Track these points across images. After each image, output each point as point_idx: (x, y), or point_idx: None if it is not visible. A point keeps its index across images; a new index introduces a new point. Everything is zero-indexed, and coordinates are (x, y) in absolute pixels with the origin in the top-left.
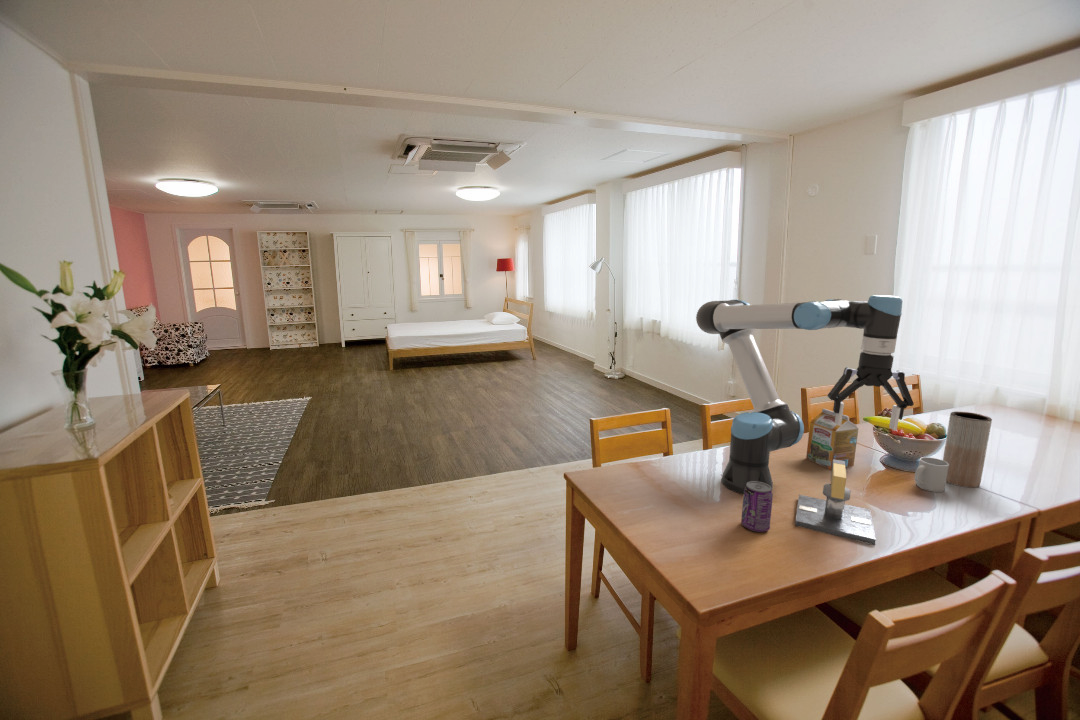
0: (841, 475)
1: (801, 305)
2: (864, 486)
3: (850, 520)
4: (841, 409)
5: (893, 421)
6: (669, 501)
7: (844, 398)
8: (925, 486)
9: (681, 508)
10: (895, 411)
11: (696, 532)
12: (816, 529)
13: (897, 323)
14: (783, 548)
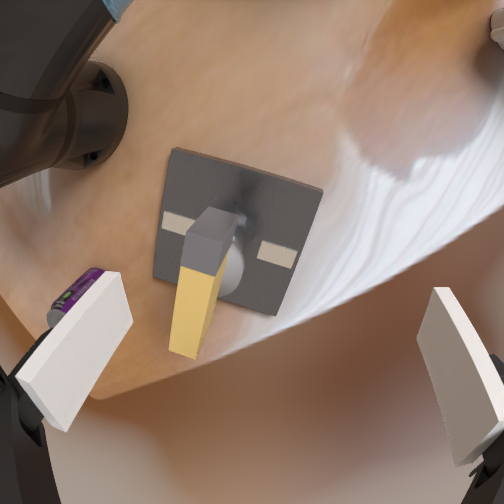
0: (186, 347)
1: None
2: (373, 25)
3: (255, 256)
4: (76, 393)
5: (436, 362)
6: (9, 230)
7: (45, 460)
8: (502, 44)
9: (23, 248)
10: (457, 426)
11: None
12: None
13: None
14: (141, 332)
